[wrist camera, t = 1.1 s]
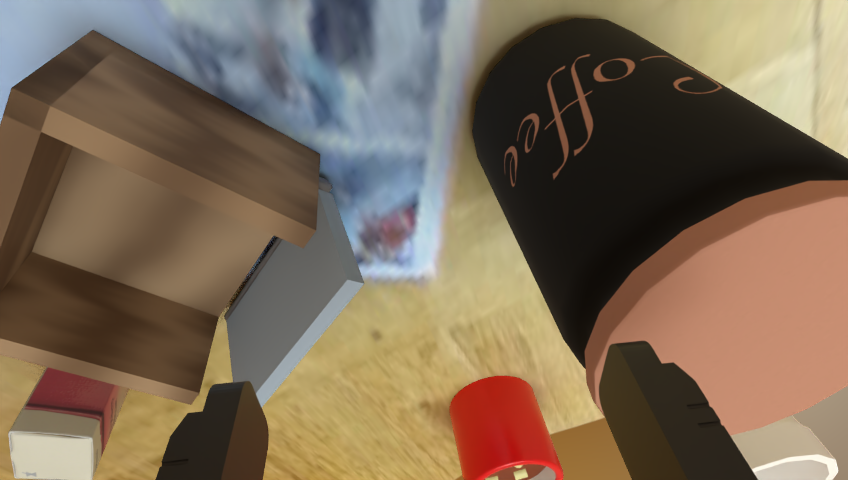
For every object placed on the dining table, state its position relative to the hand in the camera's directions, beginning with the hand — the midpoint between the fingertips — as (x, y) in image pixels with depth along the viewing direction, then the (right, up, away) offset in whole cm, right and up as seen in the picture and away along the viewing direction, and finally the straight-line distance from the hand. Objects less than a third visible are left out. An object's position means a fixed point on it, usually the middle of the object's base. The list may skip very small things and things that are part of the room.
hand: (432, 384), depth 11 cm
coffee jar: (+8, +11, +18) cm, 22 cm away
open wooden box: (-15, +6, +18) cm, 24 cm away
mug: (+6, -13, +36) cm, 39 cm away
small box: (-23, -5, +25) cm, 34 cm away
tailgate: (-10, +2, +20) cm, 22 cm away
